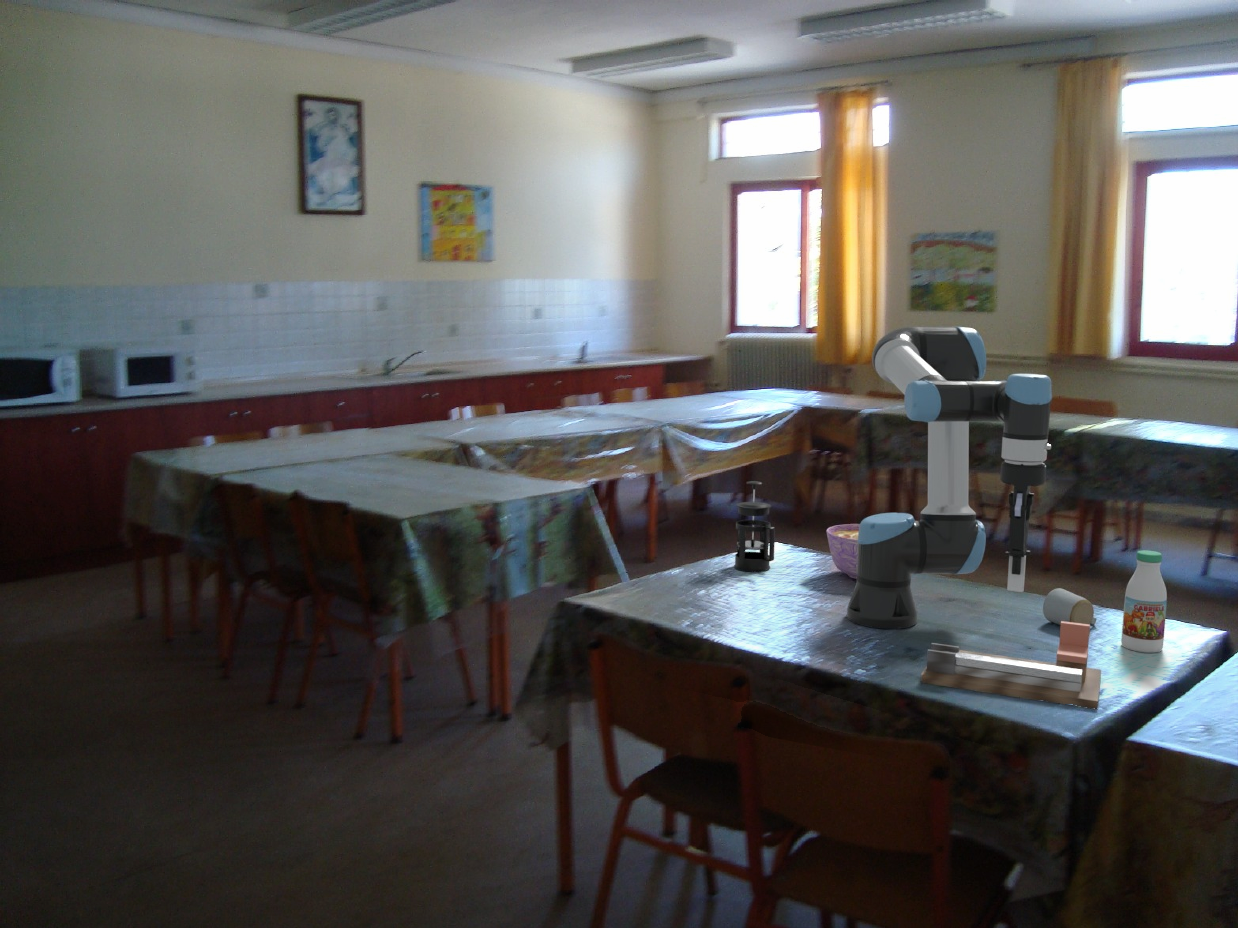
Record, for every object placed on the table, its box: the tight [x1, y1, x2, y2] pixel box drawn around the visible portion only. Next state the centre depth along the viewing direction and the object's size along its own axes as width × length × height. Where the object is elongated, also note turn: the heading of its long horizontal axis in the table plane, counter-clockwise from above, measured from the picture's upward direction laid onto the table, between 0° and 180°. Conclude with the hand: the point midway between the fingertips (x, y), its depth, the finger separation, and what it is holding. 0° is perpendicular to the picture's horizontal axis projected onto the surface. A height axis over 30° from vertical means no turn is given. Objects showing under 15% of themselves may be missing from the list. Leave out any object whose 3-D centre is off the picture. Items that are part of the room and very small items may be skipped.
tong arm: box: [944, 650, 1082, 683], centre depth 198 cm, size 24×3×2 cm, turn 65°
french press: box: [733, 480, 776, 573], centre depth 283 cm, size 12×9×23 cm
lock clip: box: [1056, 621, 1091, 664], centre depth 201 cm, size 5×8×5 cm, turn 155°
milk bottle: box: [1120, 549, 1168, 654], centre depth 220 cm, size 8×8×20 cm
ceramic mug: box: [1042, 587, 1097, 626], centre depth 236 cm, size 11×8×8 cm
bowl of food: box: [826, 523, 860, 580], centre depth 277 cm, size 20×20×12 cm
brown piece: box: [920, 642, 1102, 710], centre depth 202 cm, size 30×18×6 cm, turn 65°
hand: (1015, 590), depth 196 cm, fingers closed
